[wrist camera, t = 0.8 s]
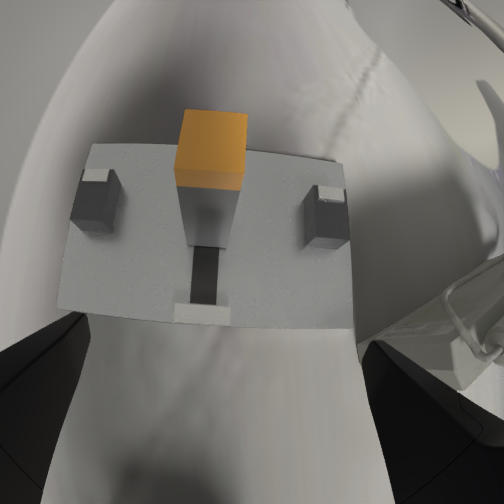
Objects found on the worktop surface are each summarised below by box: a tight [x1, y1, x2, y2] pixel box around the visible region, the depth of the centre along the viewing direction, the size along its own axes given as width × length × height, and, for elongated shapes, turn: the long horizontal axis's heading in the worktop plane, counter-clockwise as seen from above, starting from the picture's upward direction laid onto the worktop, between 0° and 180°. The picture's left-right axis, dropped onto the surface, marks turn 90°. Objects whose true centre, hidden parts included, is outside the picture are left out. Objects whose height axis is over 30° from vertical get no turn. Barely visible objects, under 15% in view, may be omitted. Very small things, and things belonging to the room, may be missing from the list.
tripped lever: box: [174, 109, 248, 248], centre depth 17 cm, size 3×3×10 cm
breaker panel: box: [57, 144, 353, 329], centre depth 21 cm, size 14×22×4 cm, turn 88°
